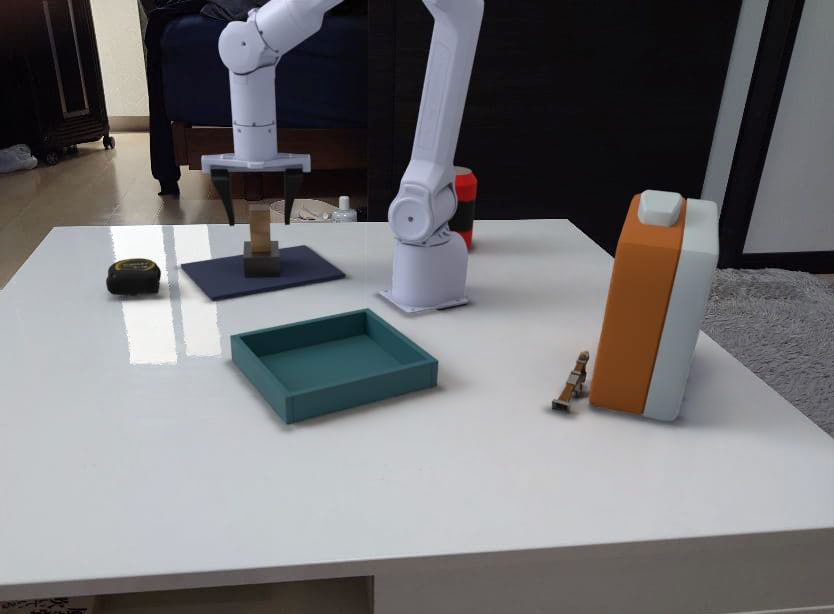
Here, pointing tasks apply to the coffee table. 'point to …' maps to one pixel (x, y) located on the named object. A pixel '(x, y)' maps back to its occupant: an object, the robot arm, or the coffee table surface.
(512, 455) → the coffee table surface
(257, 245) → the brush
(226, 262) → the pad
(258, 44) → the robot arm
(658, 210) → the orange and white box
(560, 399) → the wooden post with brackets
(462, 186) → the soda can
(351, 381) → the tray
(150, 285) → the tape measure
